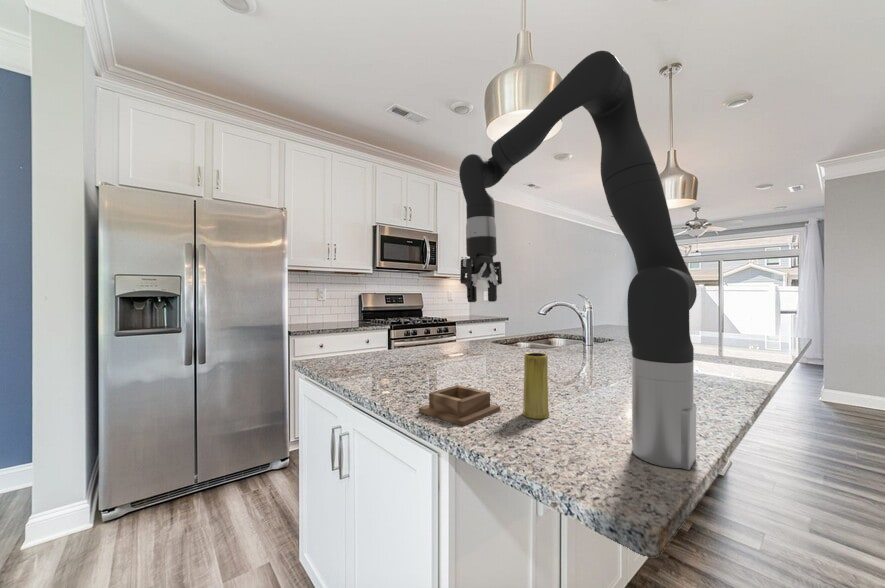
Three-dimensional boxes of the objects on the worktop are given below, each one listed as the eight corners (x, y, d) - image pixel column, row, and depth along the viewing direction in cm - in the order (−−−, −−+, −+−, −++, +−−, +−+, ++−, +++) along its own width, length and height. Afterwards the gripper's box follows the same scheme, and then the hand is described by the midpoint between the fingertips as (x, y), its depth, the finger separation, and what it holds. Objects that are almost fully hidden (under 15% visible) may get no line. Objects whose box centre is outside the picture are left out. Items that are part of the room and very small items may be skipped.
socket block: (500, 410, 90) (500, 392, 90) (463, 426, 79) (463, 405, 79) (456, 399, 99) (456, 382, 99) (418, 411, 89) (418, 393, 89)
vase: (546, 411, 89) (546, 352, 89) (551, 419, 83) (551, 356, 83) (521, 410, 90) (521, 352, 90) (524, 419, 84) (524, 356, 84)
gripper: (475, 231, 84) (477, 302, 84) (509, 238, 95) (510, 301, 95) (451, 236, 89) (452, 302, 89) (485, 241, 100) (486, 301, 100)
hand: (482, 301), depth 92 cm, fingers open, 8 cm apart
